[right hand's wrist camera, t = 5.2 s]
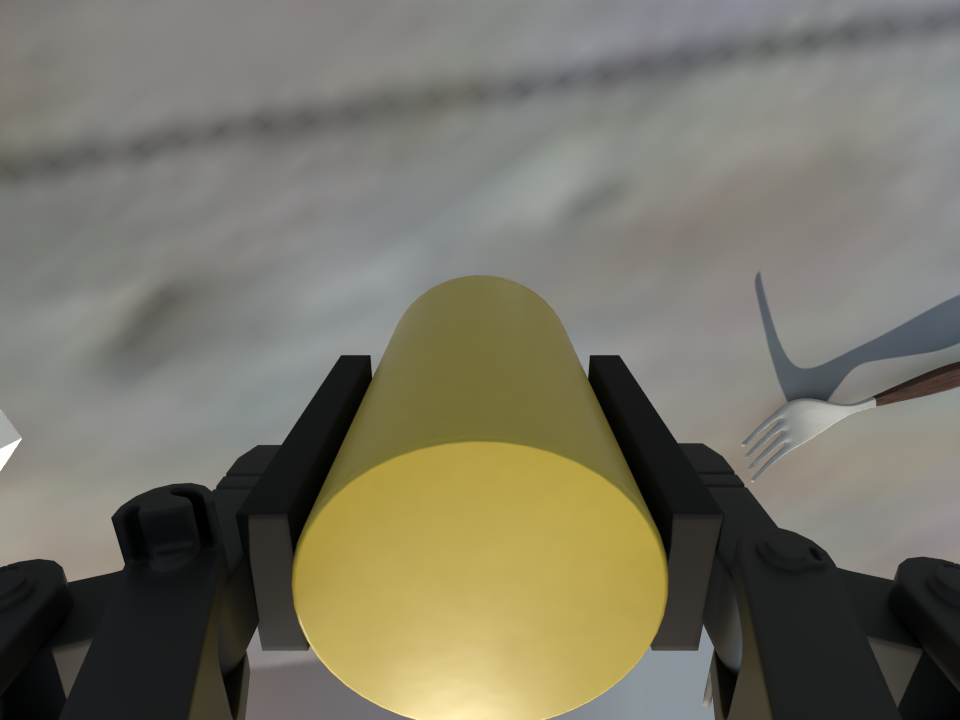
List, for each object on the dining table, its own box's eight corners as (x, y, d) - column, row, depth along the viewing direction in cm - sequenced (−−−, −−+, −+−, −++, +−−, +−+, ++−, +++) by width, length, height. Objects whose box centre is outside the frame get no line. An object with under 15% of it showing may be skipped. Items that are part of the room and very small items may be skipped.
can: (468, 472, 19) (457, 776, 10) (351, 351, 17) (209, 581, 8) (605, 375, 17) (741, 622, 8) (493, 234, 16) (513, 352, 7)
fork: (1066, 356, 26) (1112, 372, 24) (734, 463, 28) (753, 485, 26) (1066, 306, 25) (1113, 319, 23) (723, 421, 27) (741, 441, 25)
